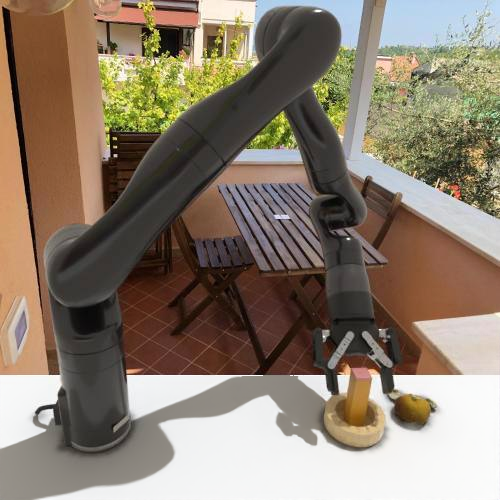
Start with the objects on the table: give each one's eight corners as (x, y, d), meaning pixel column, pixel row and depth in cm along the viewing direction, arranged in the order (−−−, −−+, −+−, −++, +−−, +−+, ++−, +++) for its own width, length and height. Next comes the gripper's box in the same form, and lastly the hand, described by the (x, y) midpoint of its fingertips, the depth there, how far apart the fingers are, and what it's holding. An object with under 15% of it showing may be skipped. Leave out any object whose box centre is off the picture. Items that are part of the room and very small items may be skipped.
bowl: (333, 448, 66) (334, 435, 65) (317, 405, 75) (319, 393, 74) (392, 445, 67) (395, 433, 66) (370, 403, 76) (372, 391, 75)
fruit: (435, 402, 77) (439, 385, 76) (436, 434, 70) (441, 417, 68) (388, 389, 80) (391, 373, 78) (384, 420, 72) (387, 402, 71)
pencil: (348, 428, 70) (356, 378, 66) (343, 416, 72) (351, 367, 68) (363, 427, 70) (372, 377, 66) (358, 416, 72) (366, 367, 69)
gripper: (313, 288, 69) (323, 393, 63) (397, 288, 71) (415, 390, 64) (303, 302, 76) (311, 397, 70) (380, 301, 78) (395, 395, 71)
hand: (361, 394), depth 67 cm, fingers open, 8 cm apart
